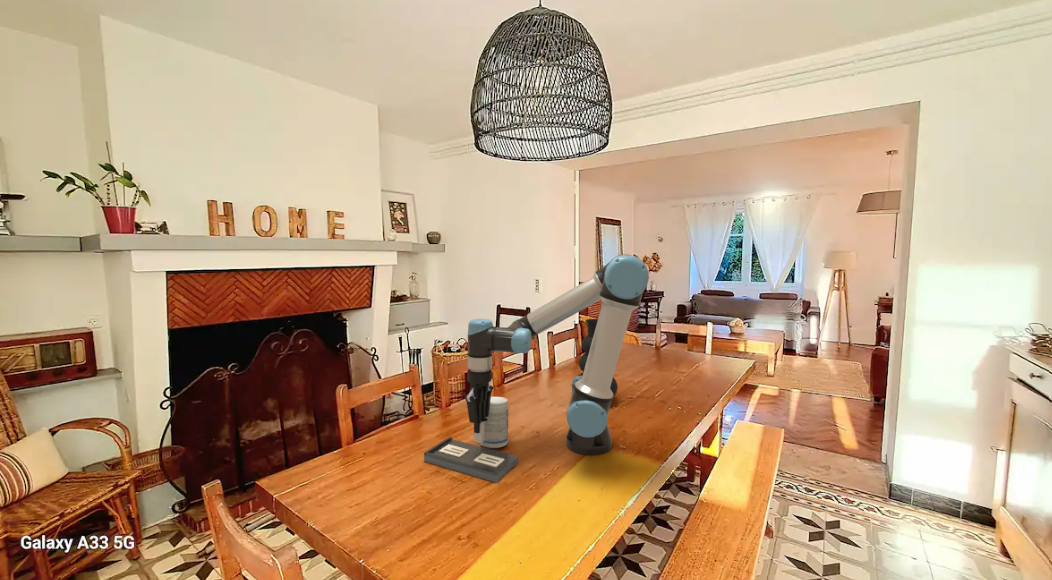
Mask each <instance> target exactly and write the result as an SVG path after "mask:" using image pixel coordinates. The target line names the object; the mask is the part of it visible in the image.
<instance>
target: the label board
mask: <svg viewBox="0 0 1052 580" xmlns="http://www.w3.org/2000/svg"><path fill="white" fill-rule="evenodd" d="M448 444H449V445H453V446H457V447H461V448H465V449H468V450H469V451H468V452H467V453H465V454H464V455H462V456H461V457H456V456H452V455H449V454H445V453H442V452H439V450H441V449H442V448H444V447H445V446H447V445H448ZM482 453H483V454H487V455H491V456H495V457H499V458H502V459H505V460H504V461H503V462H502V463H501V464H500V465H499V466H497V467H492V466H489V465H485V464H481V463H478V462H474V461H473V460H474V459H476V458H477V457H478V456H480V455H481V454H482ZM423 462H424V463H428V464H432V465H434V466H438V467H441V468H444V469H449V470H451V471H455V472H458V473H462V474H465V475H468V476H472V477H475V478H479V479H482V480H484V481H485V480H486V481H489V482H492V483H495V484H497V483H498V482H499V481H500V480H501V479H502V478H503V477H505V475H506V474H508V473H509V472H510V471H511V470H512V469H513V468H514V467H515V466H516V465H517V464H519V456H518V455H515V454H511V453H507V452H503V451H499V450H496V449H493V448H487V447H484V446H479V445H476V444H471V443H468V442H464V441H460V440H458V439H457V440H456V439H453V436H449V437H446V438H445V439H444V440H442V441H440V442H439V443H437V444H435V445H434V446H432V447H431V448H429V449H428V450H426V451H425V452H423Z"/></svg>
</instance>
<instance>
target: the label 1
mask: <svg viewBox="0 0 1052 580" xmlns="http://www.w3.org/2000/svg"><path fill="white" fill-rule="evenodd" d="M468 451H469V450H468V449H465V448H461V447H457V446H453V445H449V444H448V445H447V446H445V447H444V448H442V449H441V450H439V452H442V453H445V454H449V455H452V456H456V457H461V456H462V455H464V454H465V453H467V452H468Z"/></svg>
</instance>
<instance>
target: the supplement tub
mask: <svg viewBox="0 0 1052 580" xmlns="http://www.w3.org/2000/svg"><path fill="white" fill-rule="evenodd" d="M486 419H487V421H484V442H482V443H479V444H480V445H481V447H484V448H488V449H499V448H503V447H505V446H506V445H508V443H509V400H508V398H506V397H503V396H491V400H490V407H489V415H488V417H486Z"/></svg>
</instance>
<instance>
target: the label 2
mask: <svg viewBox="0 0 1052 580" xmlns="http://www.w3.org/2000/svg"><path fill="white" fill-rule="evenodd" d="M504 460H505V459H502V458H499V457H495V456H491V455H487V454H483V453H482V454H481V455H480V456H478V457H477V458H476V459H474V460H473V461H474V462H478V463H481V464H485V465H489V466H492V467H497V466H499V465H500V464H501V463H502V462H503V461H504Z"/></svg>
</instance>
